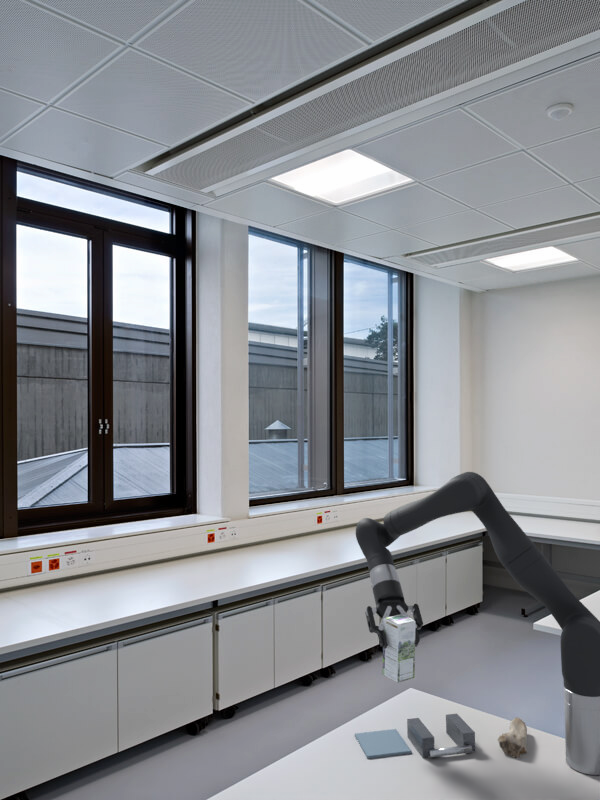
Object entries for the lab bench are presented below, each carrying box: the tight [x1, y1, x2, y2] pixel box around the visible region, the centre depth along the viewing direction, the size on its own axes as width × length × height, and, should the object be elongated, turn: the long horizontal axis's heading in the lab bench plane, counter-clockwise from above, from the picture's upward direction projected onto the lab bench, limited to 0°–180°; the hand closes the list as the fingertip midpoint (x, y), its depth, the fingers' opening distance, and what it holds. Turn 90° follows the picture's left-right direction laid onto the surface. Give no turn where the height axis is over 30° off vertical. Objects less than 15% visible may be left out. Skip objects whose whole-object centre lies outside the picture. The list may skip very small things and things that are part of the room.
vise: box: [406, 713, 476, 759], centre depth 155 cm, size 13×12×4 cm
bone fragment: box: [497, 716, 528, 759], centre depth 155 cm, size 14×6×5 cm, turn 148°
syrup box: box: [382, 614, 416, 684], centre depth 157 cm, size 6×6×14 cm
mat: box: [354, 728, 412, 760], centre depth 156 cm, size 11×11×1 cm
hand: (400, 646), depth 156 cm, fingers closed on syrup box, 7 cm apart
